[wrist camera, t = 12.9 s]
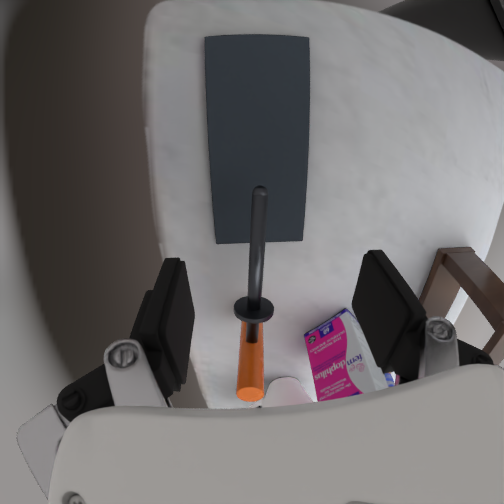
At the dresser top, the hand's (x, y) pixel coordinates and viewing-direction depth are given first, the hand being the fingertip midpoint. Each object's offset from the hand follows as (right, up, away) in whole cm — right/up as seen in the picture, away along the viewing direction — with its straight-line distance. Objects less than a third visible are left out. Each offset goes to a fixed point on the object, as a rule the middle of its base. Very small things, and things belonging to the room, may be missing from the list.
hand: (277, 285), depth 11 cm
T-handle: (0, +5, +5) cm, 8 cm away
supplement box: (+9, -8, +18) cm, 22 cm away
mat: (0, +9, +7) cm, 12 cm away
